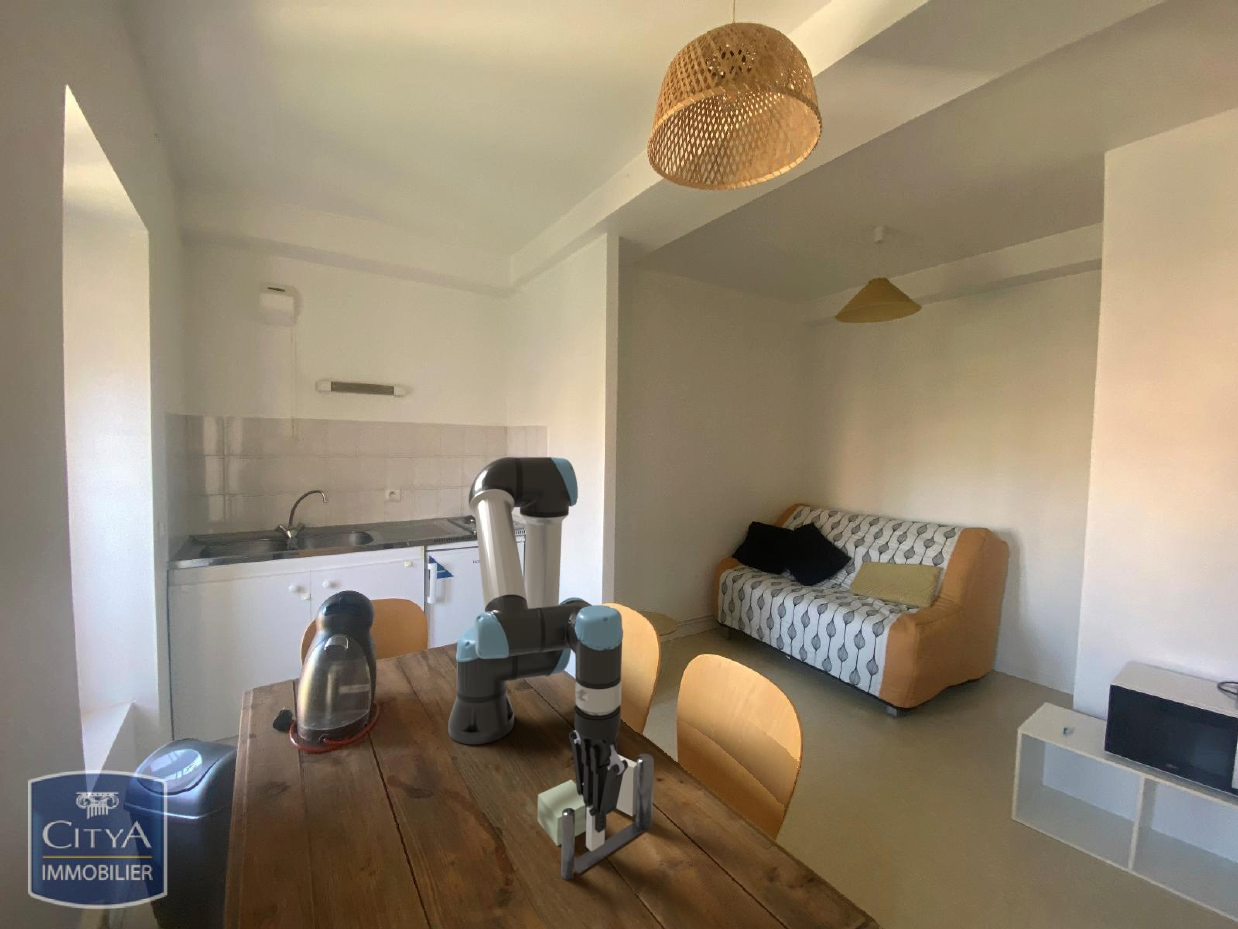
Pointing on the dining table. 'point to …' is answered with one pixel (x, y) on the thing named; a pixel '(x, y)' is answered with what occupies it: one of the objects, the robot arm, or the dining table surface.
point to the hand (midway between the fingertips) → (595, 844)
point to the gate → (628, 789)
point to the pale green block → (560, 810)
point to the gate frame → (619, 839)
